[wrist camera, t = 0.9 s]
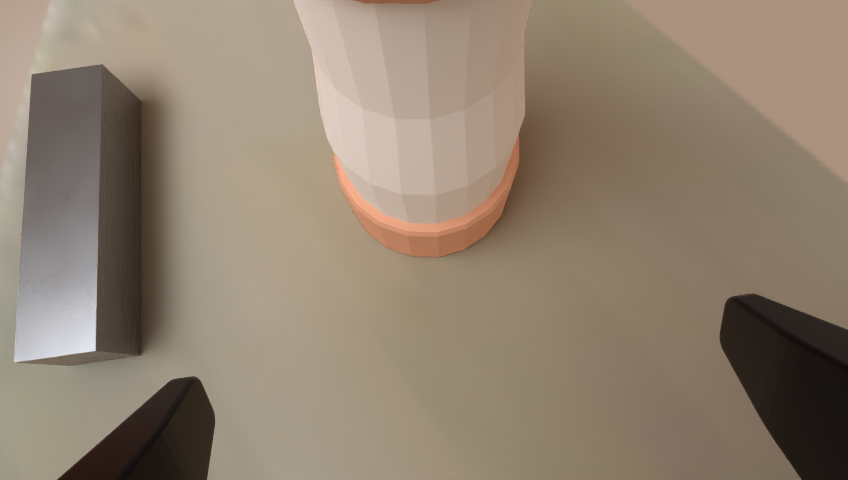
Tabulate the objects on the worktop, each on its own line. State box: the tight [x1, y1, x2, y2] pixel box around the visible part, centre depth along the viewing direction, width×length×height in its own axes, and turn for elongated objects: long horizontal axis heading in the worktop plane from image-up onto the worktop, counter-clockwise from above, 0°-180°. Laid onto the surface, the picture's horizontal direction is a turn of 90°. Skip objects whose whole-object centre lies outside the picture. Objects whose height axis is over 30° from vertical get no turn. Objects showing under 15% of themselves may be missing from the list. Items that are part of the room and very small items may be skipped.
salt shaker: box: [293, 0, 532, 257], centre depth 15 cm, size 7×7×19 cm
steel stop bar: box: [14, 64, 141, 366], centre depth 23 cm, size 12×3×3 cm, turn 8°
